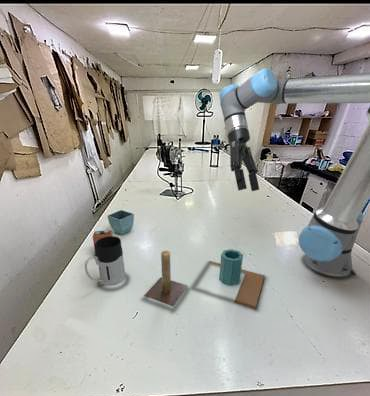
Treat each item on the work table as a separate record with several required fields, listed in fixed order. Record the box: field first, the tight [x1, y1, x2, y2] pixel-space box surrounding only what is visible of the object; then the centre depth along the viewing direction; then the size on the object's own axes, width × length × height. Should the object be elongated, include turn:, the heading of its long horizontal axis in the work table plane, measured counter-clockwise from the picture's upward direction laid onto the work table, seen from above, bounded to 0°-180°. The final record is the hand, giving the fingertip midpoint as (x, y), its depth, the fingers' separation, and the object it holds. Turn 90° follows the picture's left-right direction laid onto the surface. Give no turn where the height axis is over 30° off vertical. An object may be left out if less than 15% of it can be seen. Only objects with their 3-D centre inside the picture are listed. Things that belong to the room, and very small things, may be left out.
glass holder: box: [84, 235, 126, 286], centre depth 73 cm, size 9×14×15 cm, turn 155°
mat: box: [208, 260, 265, 310], centre depth 78 cm, size 20×16×1 cm
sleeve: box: [218, 248, 244, 287], centre depth 76 cm, size 6×6×10 cm
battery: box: [92, 229, 114, 257], centre depth 93 cm, size 4×7×10 cm, turn 100°
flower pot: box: [106, 209, 135, 236], centre depth 110 cm, size 9×9×9 cm
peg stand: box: [143, 250, 189, 308], centre depth 70 cm, size 10×10×15 cm
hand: (249, 190), depth 83 cm, fingers open, 13 cm apart
